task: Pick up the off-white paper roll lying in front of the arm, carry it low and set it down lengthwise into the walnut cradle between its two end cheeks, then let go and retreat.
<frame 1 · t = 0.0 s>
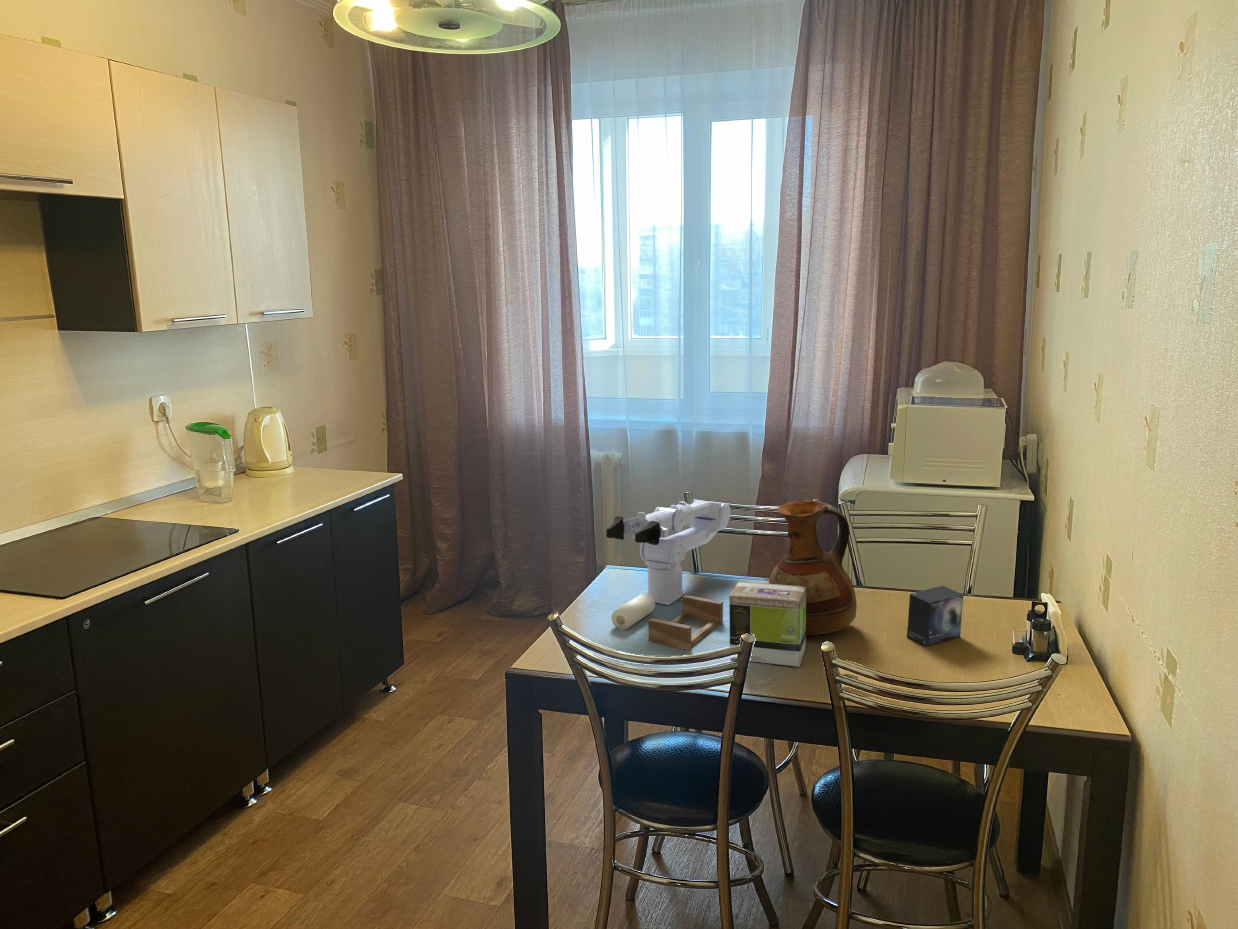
hand: (622, 535, 207), 22 cm above the table, tool horizontal, fingers open, 7 cm apart
ceramic pitcher: (810, 627, 208), on the table
roll: (633, 611, 214), point 2 cm above the table
small box: (933, 638, 201), on the table
tea box: (767, 655, 194), on the table
holder: (686, 631, 207), on the table
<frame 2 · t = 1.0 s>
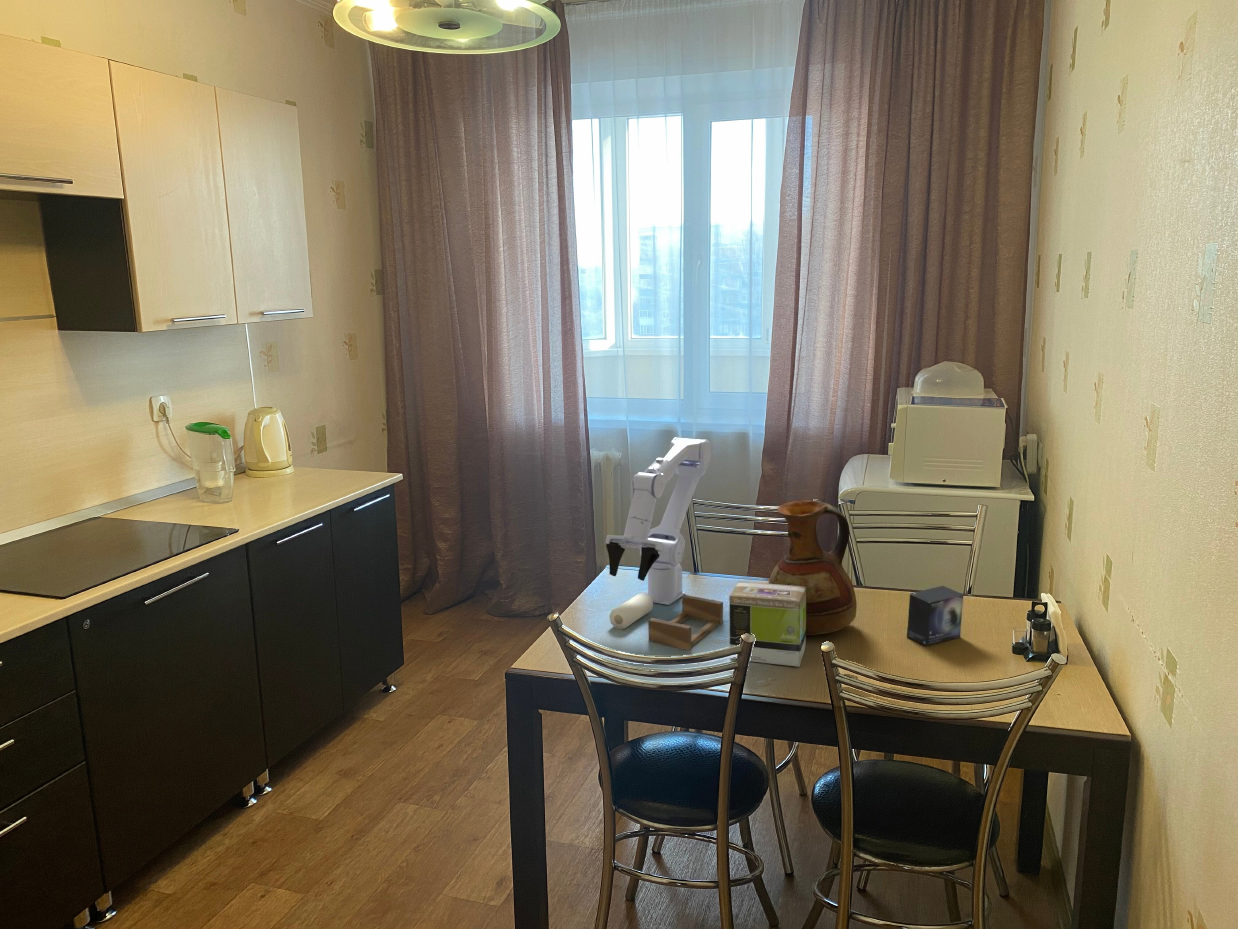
hand: (626, 577, 210), 12 cm above the table, tool tilted 30°, fingers open, 7 cm apart
roll: (631, 610, 214), point 2 cm above the table, tilted 14°
everything else where it was.
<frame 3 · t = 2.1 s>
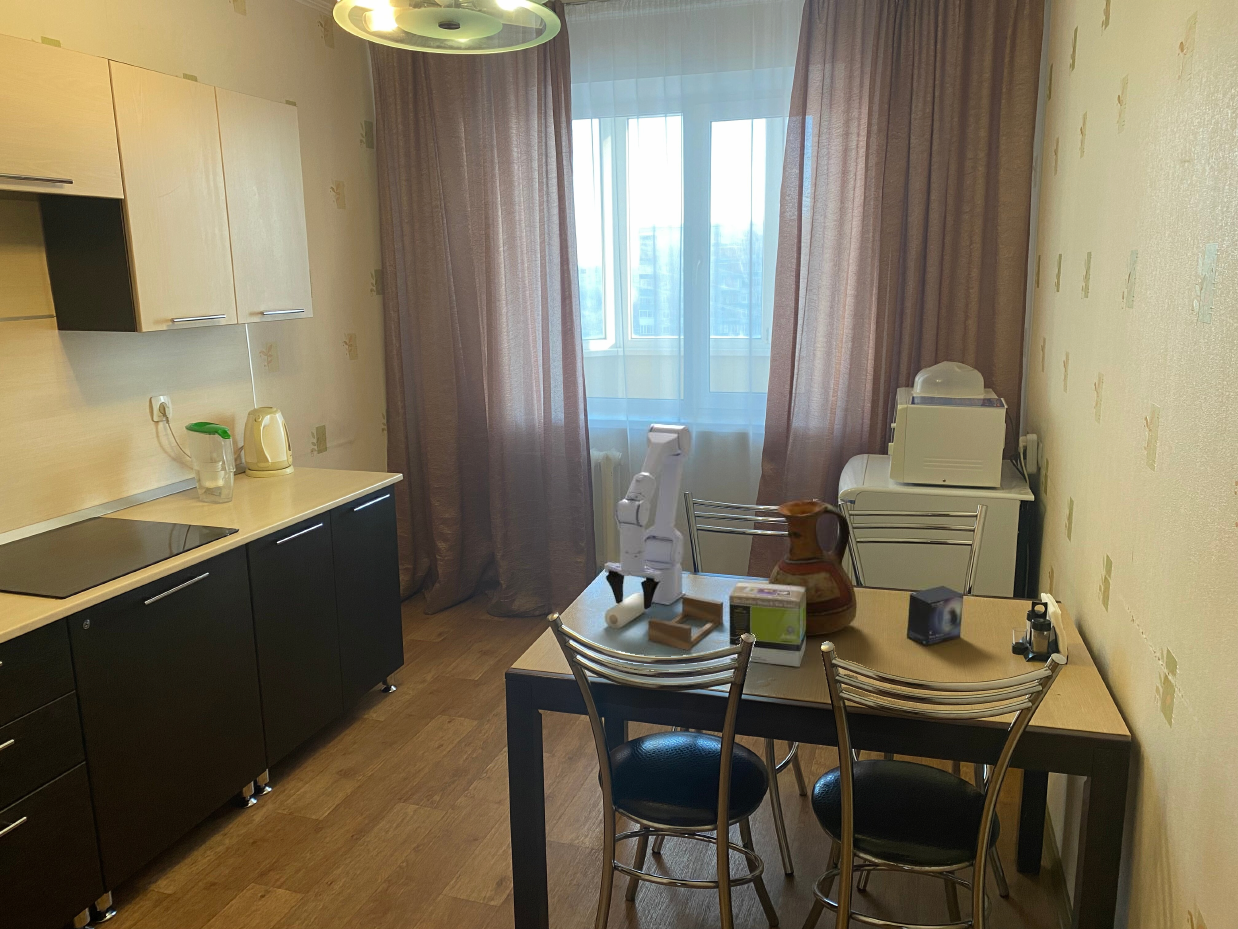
hand: (633, 605, 213), 4 cm above the table, tool pointing down, fingers open, 7 cm apart
roll: (626, 610, 215), point 2 cm above the table, tilted 53°, touching gripper
everything else where it was.
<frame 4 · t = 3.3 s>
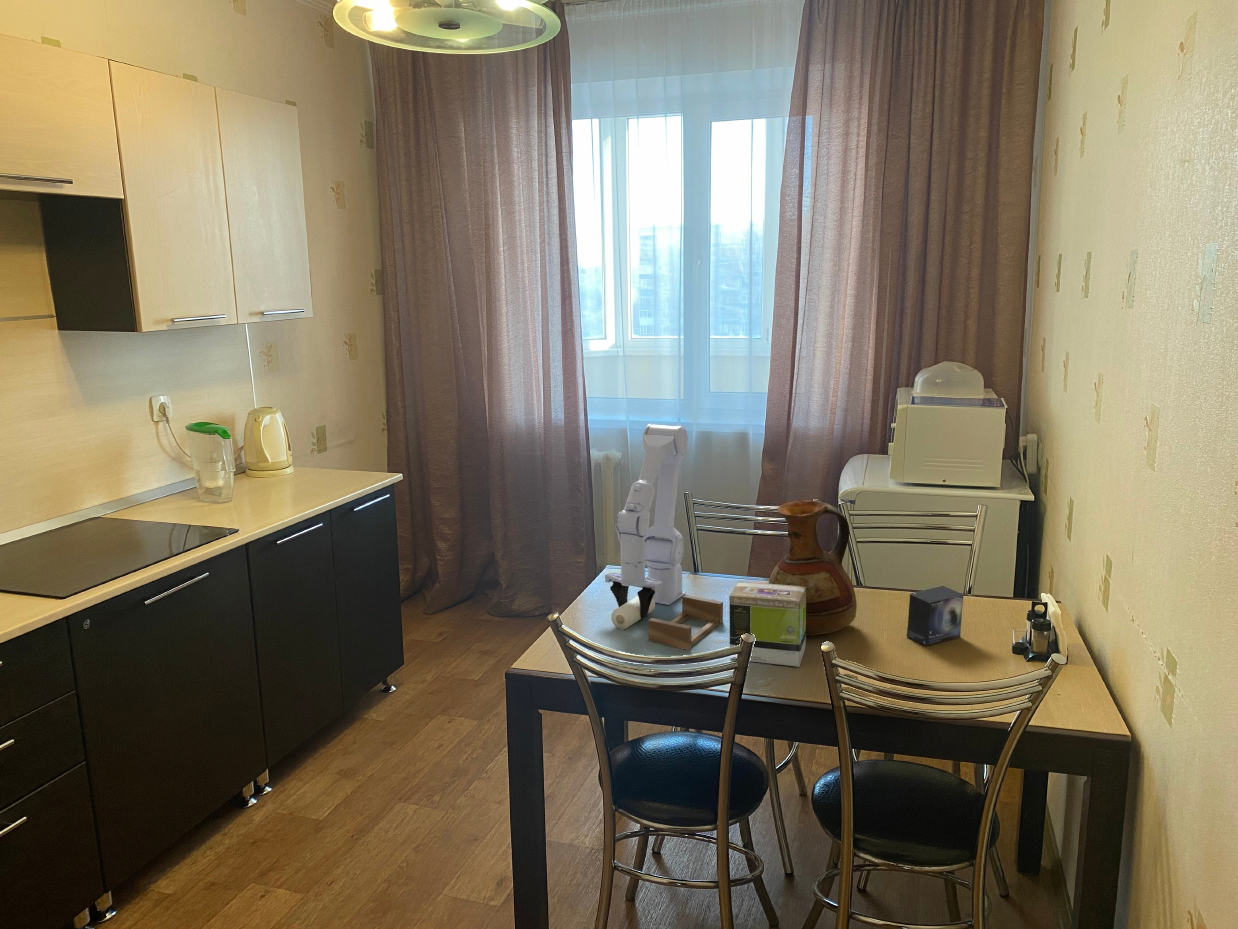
hand: (633, 614, 214), 1 cm above the table, tool pointing down, fingers closed on roll, 5 cm apart
roll: (633, 610, 214), point 2 cm above the table, tilted 32°, touching gripper
everything else where it was.
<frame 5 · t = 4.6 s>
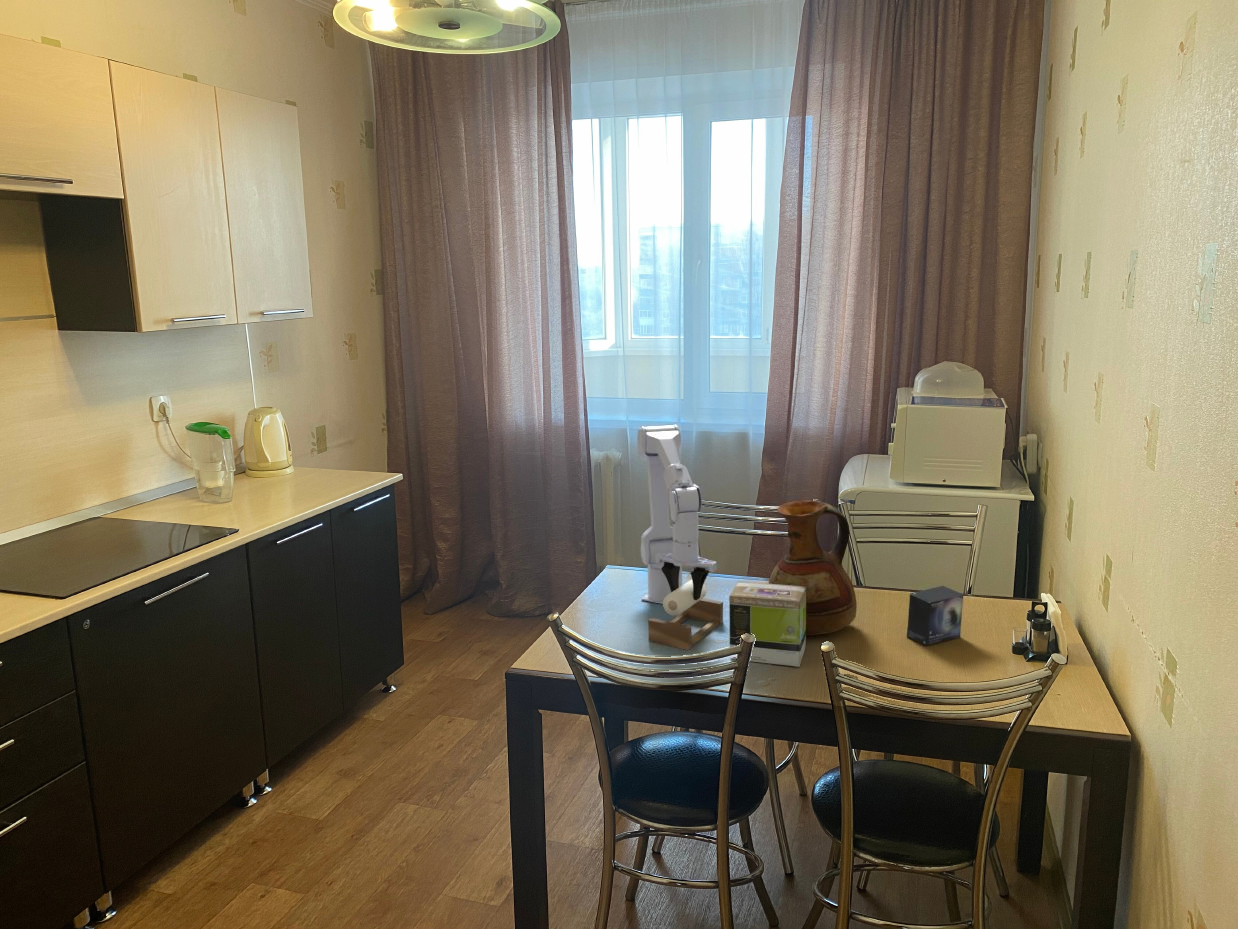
hand: (685, 596, 205), 8 cm above the table, tool pointing down, fingers closed on roll, 5 cm apart
roll: (685, 596, 205), point 9 cm above the table, tilted 25°, touching gripper
everything else where it was.
when the fingers open (3 cm above the table, at t = 6.2 s): roll stays where it is, point 2 cm above the table.
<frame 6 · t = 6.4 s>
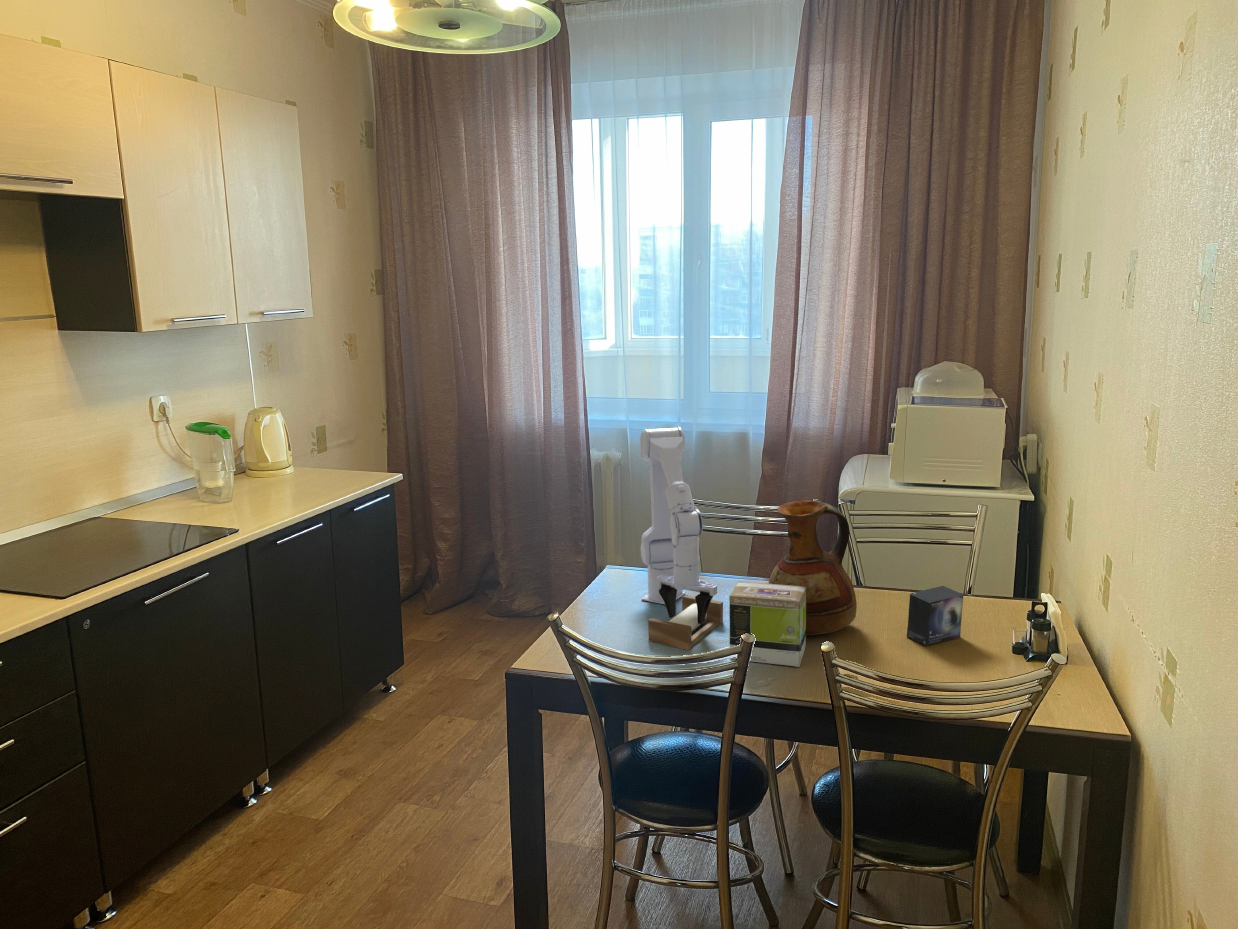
hand: (686, 619, 206), 3 cm above the table, tool pointing down, fingers open, 7 cm apart
roll: (685, 622, 206), point 2 cm above the table, tilted 26°
everything else where it was.
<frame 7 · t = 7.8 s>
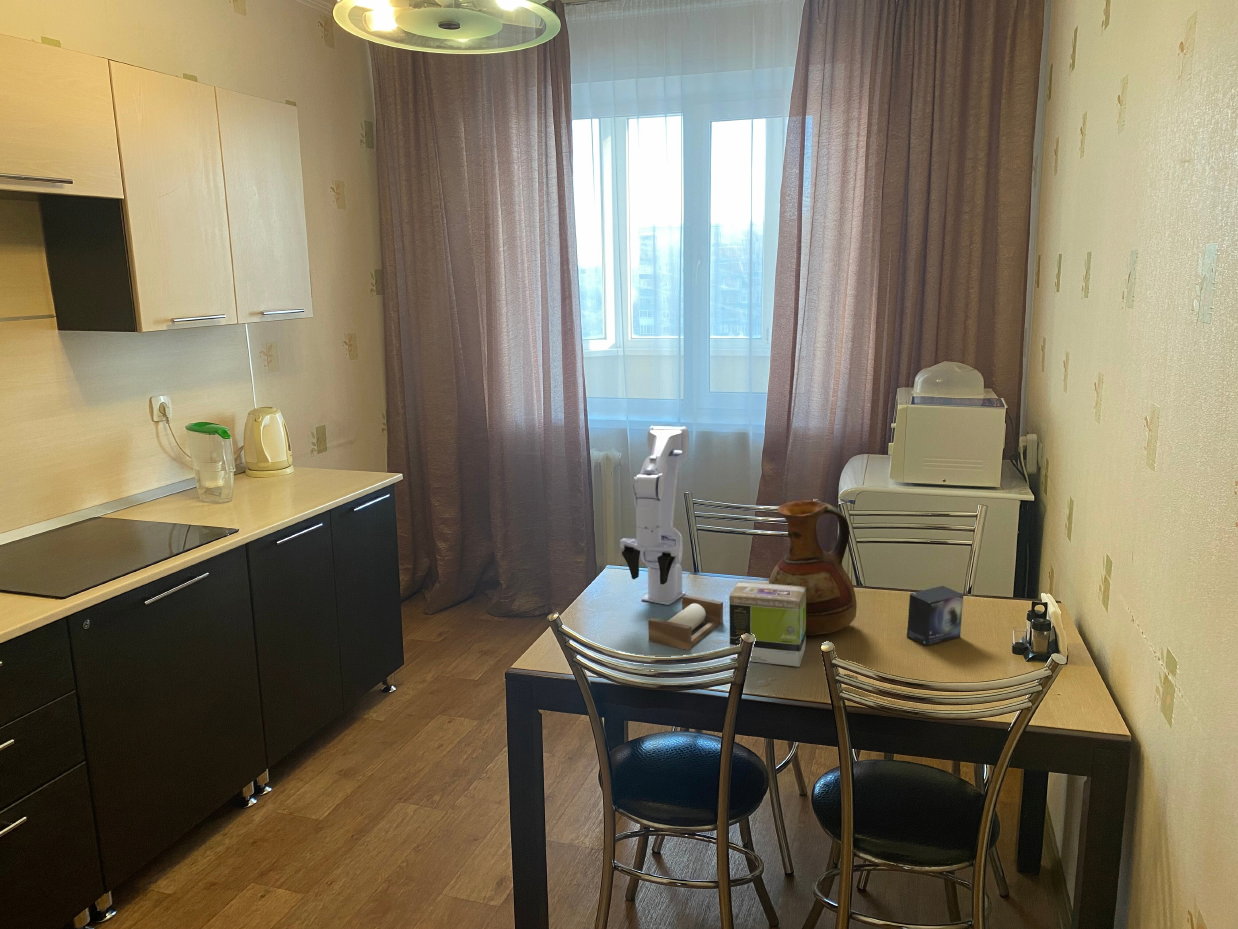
hand: (649, 580, 212), 10 cm above the table, tool pointing down, fingers open, 7 cm apart
roll: (684, 622, 206), point 2 cm above the table, tilted 32°
everything else where it was.
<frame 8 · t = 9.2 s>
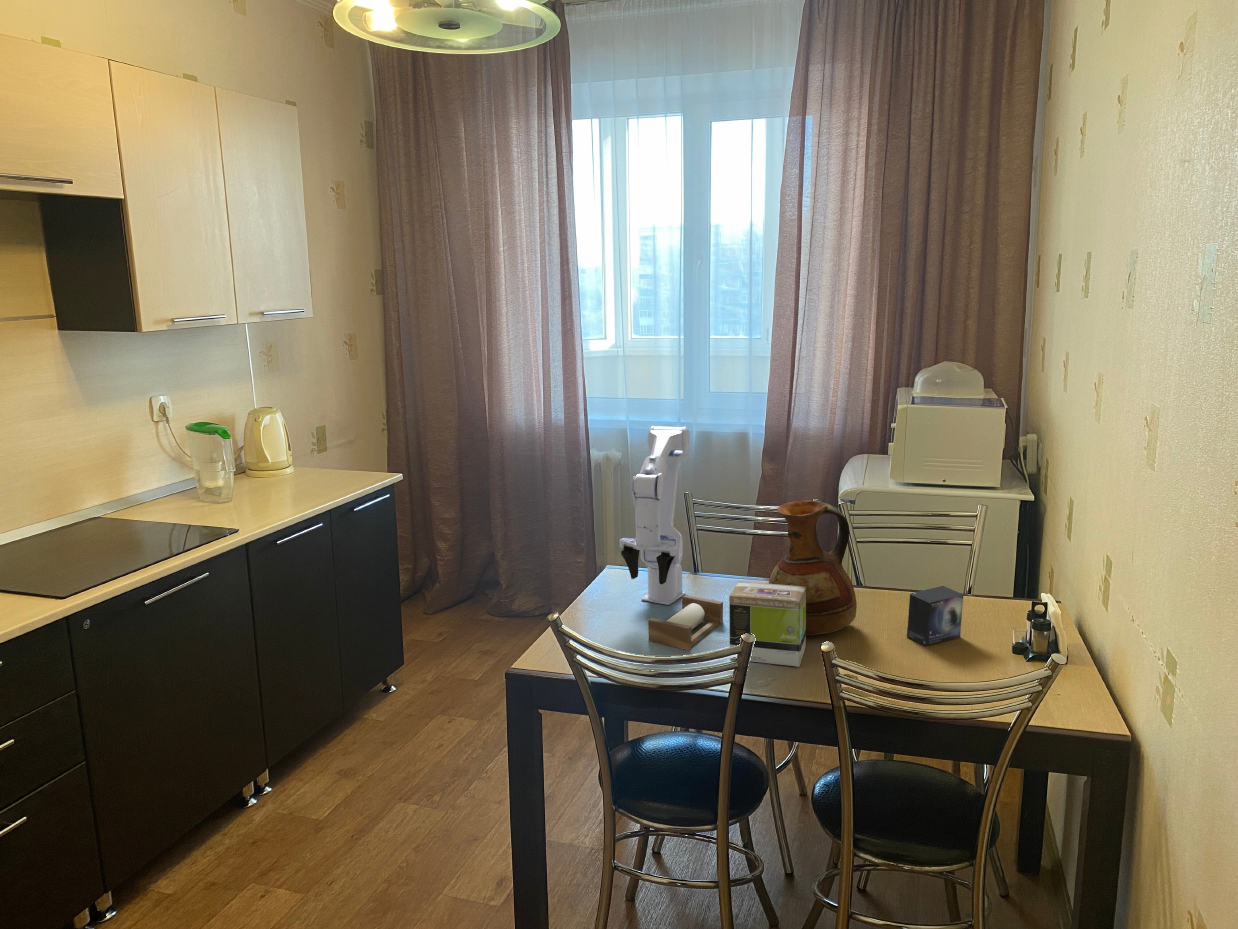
hand: (648, 580, 212), 10 cm above the table, tool pointing down, fingers open, 7 cm apart
roll: (683, 622, 207), point 2 cm above the table, tilted 39°
everything else where it was.
at the end: roll 0.7 cm off-centre on the holder, point 2.3 cm above the holder's base; the gripper is holding nothing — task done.
